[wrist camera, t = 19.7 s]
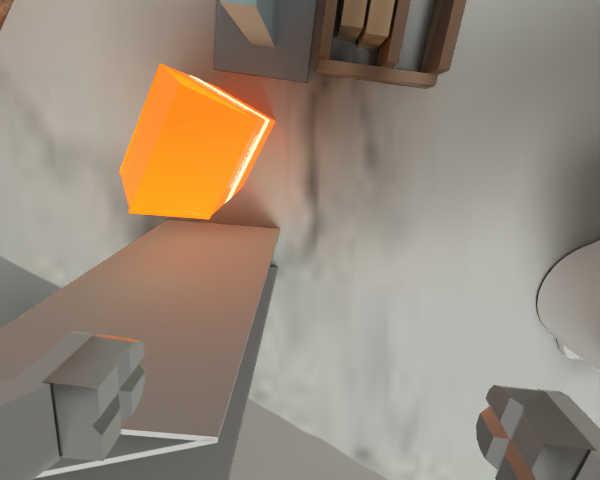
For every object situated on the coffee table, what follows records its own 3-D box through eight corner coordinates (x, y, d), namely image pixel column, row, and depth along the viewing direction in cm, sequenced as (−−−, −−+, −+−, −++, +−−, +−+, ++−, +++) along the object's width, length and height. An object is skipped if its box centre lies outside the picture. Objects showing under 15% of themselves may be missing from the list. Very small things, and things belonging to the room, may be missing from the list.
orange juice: (183, 156, 40) (69, 184, 21) (214, 84, 38) (116, 43, 19) (243, 189, 41) (184, 243, 22) (277, 121, 39) (244, 117, 20)
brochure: (168, 260, 44) (-86, 501, 16) (166, 219, 43) (-124, 408, 14) (277, 269, 44) (217, 527, 16) (280, 228, 43) (217, 437, 14)
